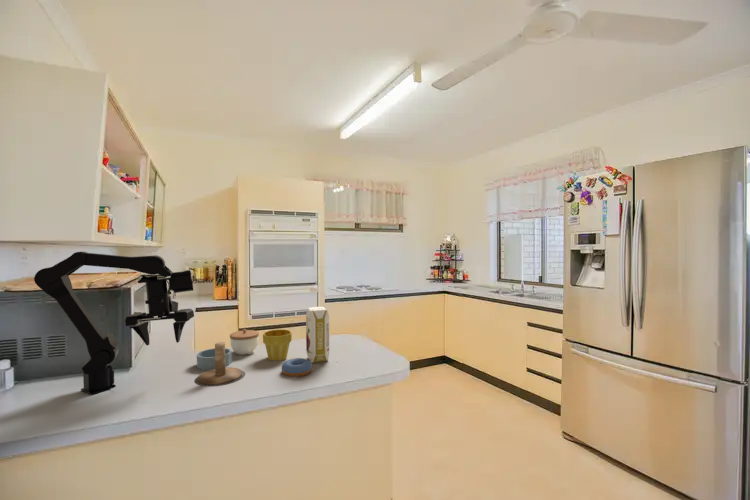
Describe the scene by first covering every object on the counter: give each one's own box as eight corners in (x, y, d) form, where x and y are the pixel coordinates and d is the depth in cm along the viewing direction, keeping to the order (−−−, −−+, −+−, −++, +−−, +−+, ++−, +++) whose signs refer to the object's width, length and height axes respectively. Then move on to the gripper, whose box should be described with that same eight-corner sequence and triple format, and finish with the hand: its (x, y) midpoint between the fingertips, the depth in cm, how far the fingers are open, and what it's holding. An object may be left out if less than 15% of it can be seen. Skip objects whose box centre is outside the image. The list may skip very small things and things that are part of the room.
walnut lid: (217, 388, 109) (216, 352, 109) (188, 380, 115) (188, 346, 115) (250, 373, 120) (250, 341, 120) (223, 367, 127) (222, 336, 126)
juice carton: (325, 354, 141) (324, 305, 141) (330, 361, 133) (330, 309, 133) (305, 357, 139) (305, 307, 138) (309, 364, 131) (309, 311, 130)
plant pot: (285, 363, 131) (285, 336, 131) (258, 362, 133) (257, 335, 133) (296, 354, 141) (295, 329, 141) (270, 353, 143) (270, 328, 143)
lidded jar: (250, 358, 137) (249, 333, 137) (224, 356, 140) (223, 332, 139) (264, 349, 148) (263, 326, 148) (240, 348, 150) (239, 325, 150)
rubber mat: (216, 391, 108) (216, 389, 108) (183, 382, 115) (183, 380, 115) (255, 374, 121) (255, 373, 121) (223, 367, 128) (223, 366, 128)
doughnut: (296, 380, 116) (297, 365, 116) (274, 375, 121) (275, 361, 121) (318, 373, 124) (318, 359, 124) (296, 369, 129) (296, 356, 130)
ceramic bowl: (211, 372, 122) (211, 359, 122) (190, 367, 127) (189, 354, 127) (237, 363, 132) (237, 350, 132) (217, 358, 137) (216, 346, 137)
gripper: (198, 288, 124) (203, 333, 125) (141, 293, 123) (146, 338, 124) (183, 294, 113) (189, 343, 114) (120, 299, 112) (126, 349, 113)
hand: (163, 343), depth 117 cm, fingers open, 9 cm apart
